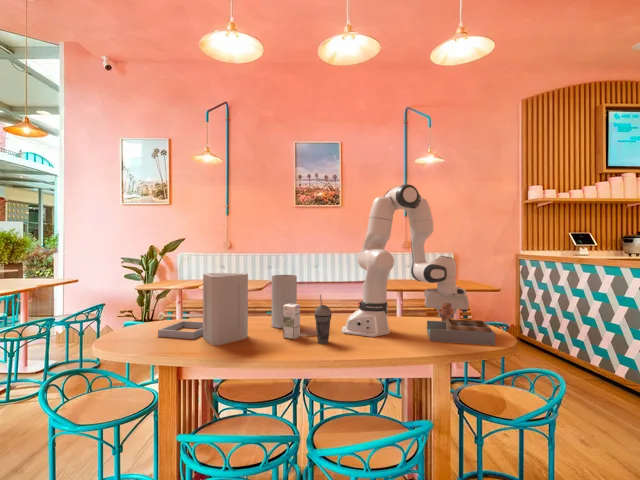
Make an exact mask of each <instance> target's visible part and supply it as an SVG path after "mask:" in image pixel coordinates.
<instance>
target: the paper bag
mask: <svg viewBox="0 0 640 480" xmlns="http://www.w3.org/2000/svg"><path fill="white" fill-rule="evenodd" d="M202 278H203V279H202V285H203V286H202V322H203V335H202V339H204V340H205V341H206V342H207V343H208V344H209V345H211V346H222V345H226V344H230V343H233V342H238V341H242V340H245V339H247V338H248V337H249V336H248V335H249V334H248V332H249V330H248V328H249V327H248V326H249V324H248V321H249V293H248V292H249V273H243V272H241V273H239V272H206V273H205V272H204V273H203V274H202Z"/></svg>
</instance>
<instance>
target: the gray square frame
mask: <svg viewBox="0 0 640 480" xmlns="http://www.w3.org/2000/svg"><path fill="white" fill-rule="evenodd" d="M182 328H185V329H186V328H188V329H196V330H194V331H186V330H180V329H182ZM157 337H159V338H170V339H172V338H173V339H183V340H184V339H186V340H195V339H197V338H199V337H203V321H192V320H191V321H189V320H181V321H179V322H176V323H173V324H170V325H168V326H165V327H162V328H159V329H158V330H157Z"/></svg>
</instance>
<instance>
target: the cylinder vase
mask: <svg viewBox="0 0 640 480" xmlns="http://www.w3.org/2000/svg"><path fill="white" fill-rule="evenodd" d="M297 278H298V277H297V275H295V274H273V275H271V327H273V328H275V329H283V306H284V305H286V304H298V303H297V302H298V301H297V296H298V294H297V293H298V291H297V287H298V286H297V283H298V282H297V281H298V280H297Z"/></svg>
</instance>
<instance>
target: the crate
mask: <svg viewBox="0 0 640 480" xmlns="http://www.w3.org/2000/svg"><path fill="white" fill-rule="evenodd" d="M491 329H492V328H491V327H490V326H489V325H488V324H487V323H486V322H485V321H484V320H475V319H457V318H451V319H446V330H461V331H479V332H491Z"/></svg>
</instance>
